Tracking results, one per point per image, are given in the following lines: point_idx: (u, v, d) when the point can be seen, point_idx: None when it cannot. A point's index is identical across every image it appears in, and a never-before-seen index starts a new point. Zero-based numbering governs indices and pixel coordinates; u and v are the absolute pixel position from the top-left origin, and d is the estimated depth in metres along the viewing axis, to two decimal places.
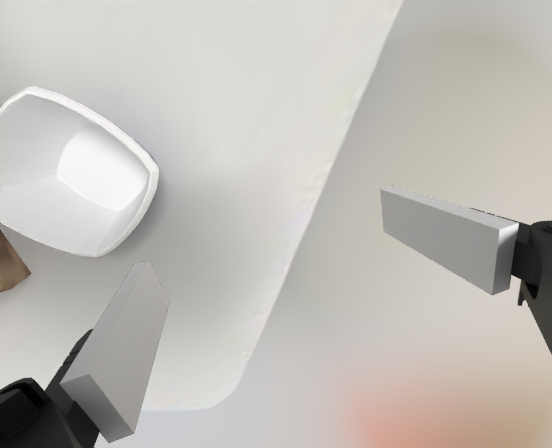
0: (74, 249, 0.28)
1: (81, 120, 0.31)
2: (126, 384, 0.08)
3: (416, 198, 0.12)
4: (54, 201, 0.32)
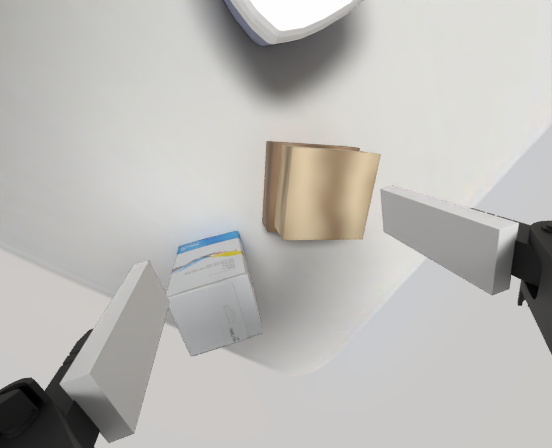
0: None
1: None
2: (126, 384, 0.08)
3: (416, 198, 0.12)
4: None
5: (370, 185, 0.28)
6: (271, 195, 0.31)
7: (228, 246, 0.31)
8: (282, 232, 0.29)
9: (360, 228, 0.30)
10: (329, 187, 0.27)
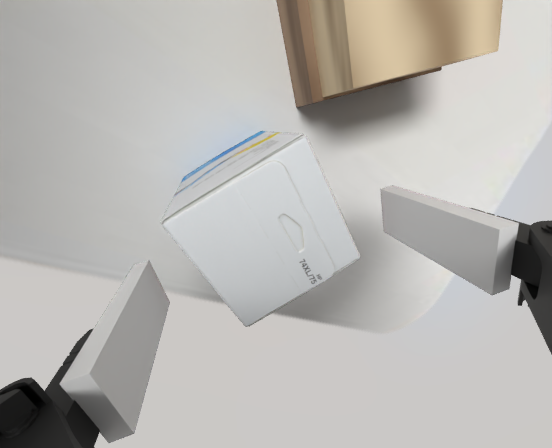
0: None
1: None
2: (126, 384, 0.08)
3: (416, 198, 0.12)
4: None
5: None
6: (302, 24, 0.17)
7: (255, 140, 0.18)
8: (347, 75, 0.15)
9: (492, 25, 0.15)
10: None
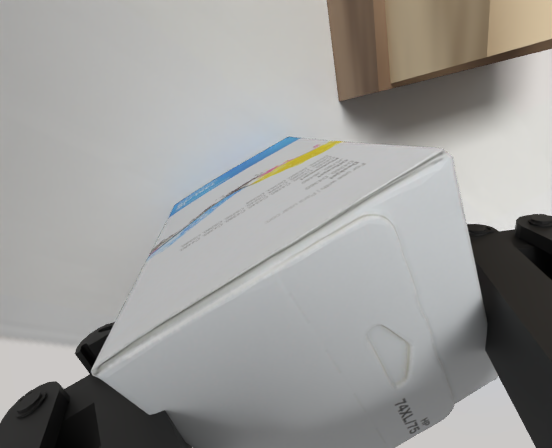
0: None
1: None
2: None
3: None
4: None
5: None
6: None
7: (289, 153, 0.11)
8: (471, 34, 0.08)
9: None
10: None
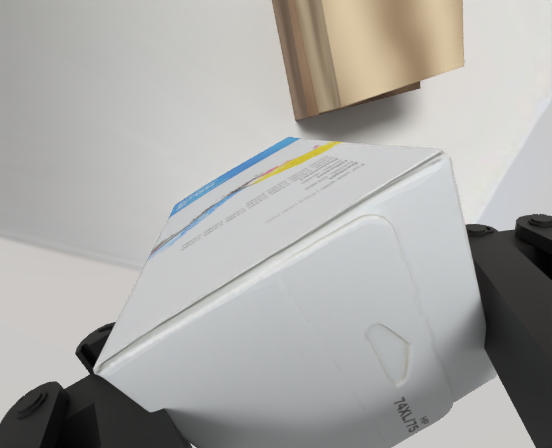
0: None
1: None
2: None
3: None
4: None
5: None
6: (298, 53, 0.20)
7: (289, 153, 0.11)
8: (336, 97, 0.18)
9: (456, 46, 0.18)
10: None
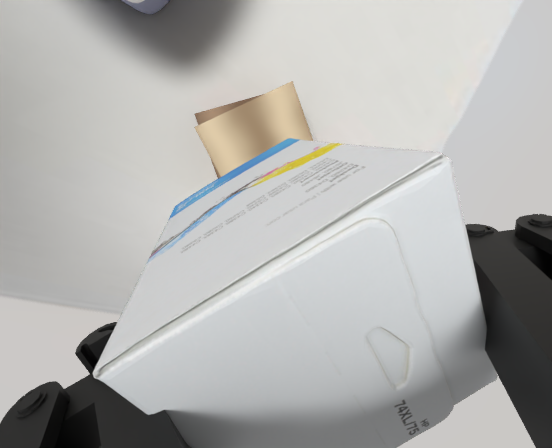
0: None
1: None
2: None
3: None
4: None
5: (301, 119, 0.25)
6: (216, 170, 0.29)
7: (289, 155, 0.11)
8: None
9: None
10: (257, 146, 0.25)
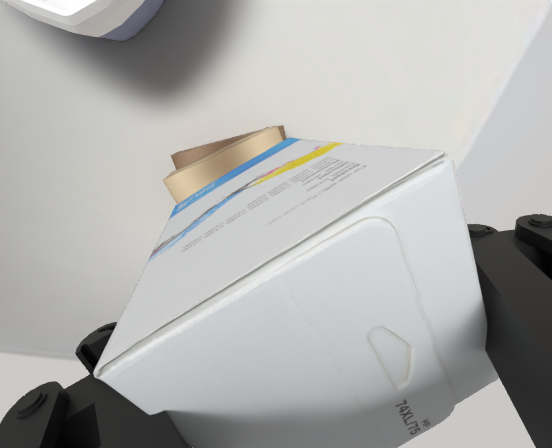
0: None
1: None
2: None
3: None
4: None
5: None
6: None
7: (290, 154, 0.11)
8: None
9: None
10: None
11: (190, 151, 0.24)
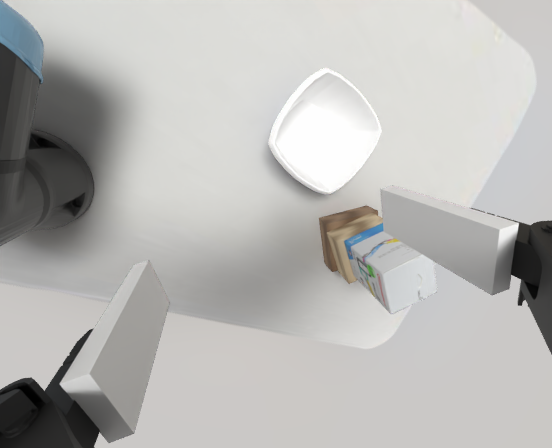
0: (372, 143, 0.39)
1: None
2: (126, 384, 0.08)
3: (416, 198, 0.12)
4: (329, 165, 0.45)
5: None
6: (330, 251, 0.52)
7: None
8: (346, 279, 0.50)
9: None
10: None
11: (335, 222, 0.50)
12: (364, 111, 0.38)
